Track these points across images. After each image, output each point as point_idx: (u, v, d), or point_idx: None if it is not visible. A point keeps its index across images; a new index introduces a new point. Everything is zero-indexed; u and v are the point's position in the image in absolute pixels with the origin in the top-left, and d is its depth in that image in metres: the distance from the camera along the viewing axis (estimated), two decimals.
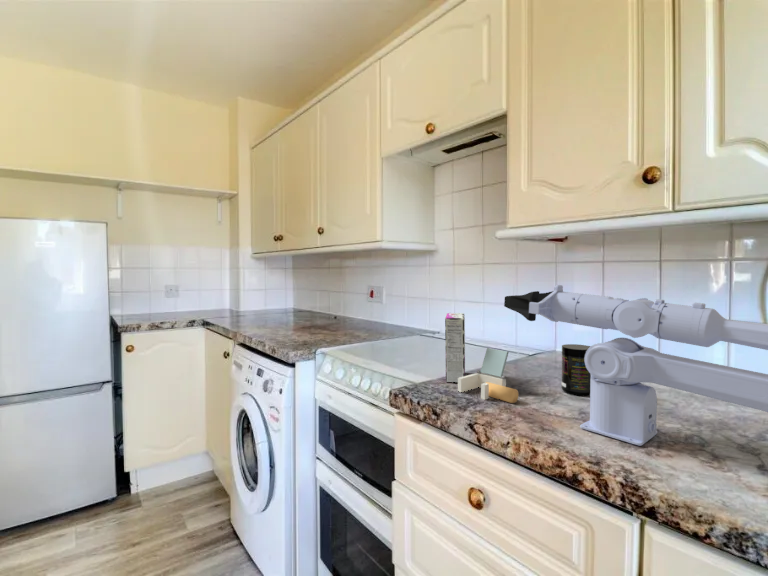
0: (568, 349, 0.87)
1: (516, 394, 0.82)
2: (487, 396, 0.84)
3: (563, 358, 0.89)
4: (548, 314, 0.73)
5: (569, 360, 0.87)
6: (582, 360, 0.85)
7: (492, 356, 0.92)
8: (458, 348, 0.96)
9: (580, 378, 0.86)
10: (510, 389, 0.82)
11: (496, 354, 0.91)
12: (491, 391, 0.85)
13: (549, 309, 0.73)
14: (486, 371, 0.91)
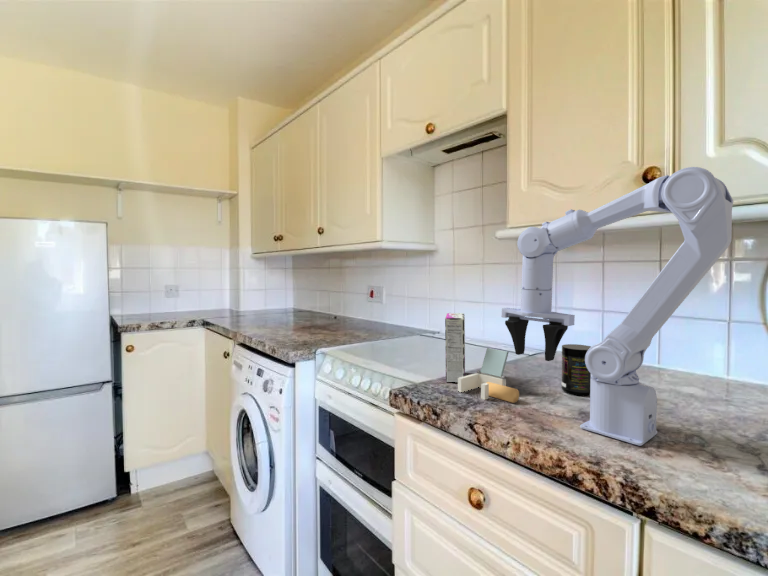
0: (568, 349, 0.87)
1: (517, 394, 0.82)
2: (487, 396, 0.84)
3: (563, 358, 0.89)
4: None
5: (569, 360, 0.87)
6: (582, 360, 0.85)
7: (492, 356, 0.92)
8: (458, 348, 0.96)
9: (580, 378, 0.86)
10: (512, 388, 0.82)
11: (496, 354, 0.91)
12: (492, 389, 0.85)
13: (551, 313, 0.75)
14: (486, 371, 0.91)
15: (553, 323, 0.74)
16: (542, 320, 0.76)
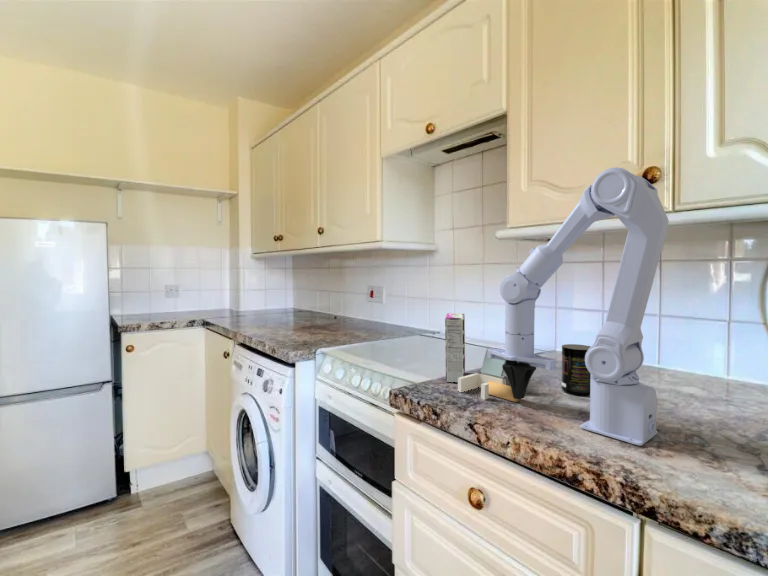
0: (568, 349, 0.87)
1: None
2: (487, 396, 0.84)
3: (563, 358, 0.89)
4: (536, 357, 0.79)
5: (569, 360, 0.87)
6: (582, 360, 0.85)
7: None
8: (458, 348, 0.96)
9: (580, 378, 0.86)
10: None
11: None
12: (495, 385, 0.86)
13: (534, 357, 0.78)
14: (486, 371, 0.91)
15: (522, 364, 0.79)
16: (525, 363, 0.79)
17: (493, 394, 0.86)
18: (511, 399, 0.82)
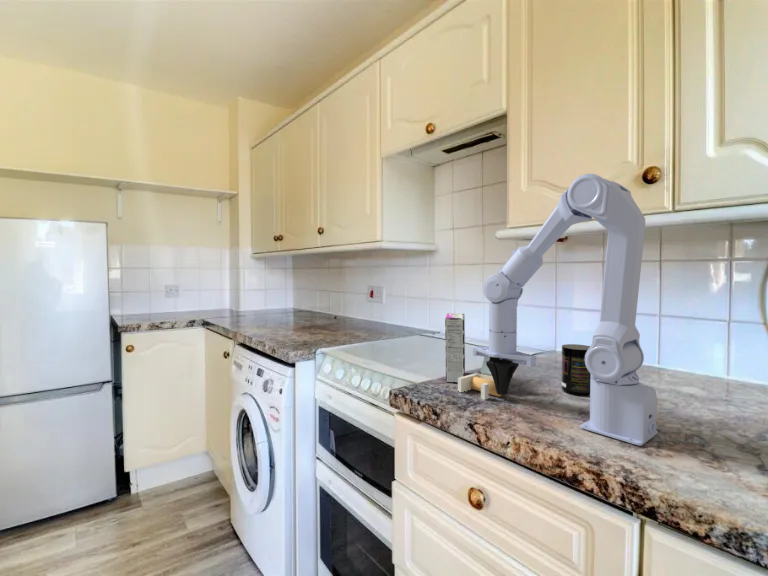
0: (568, 349, 0.87)
1: None
2: (487, 396, 0.84)
3: (563, 358, 0.89)
4: (518, 354, 0.82)
5: (569, 360, 0.87)
6: (582, 360, 0.85)
7: None
8: (458, 348, 0.96)
9: (580, 378, 0.86)
10: None
11: None
12: (480, 380, 0.89)
13: (516, 354, 0.82)
14: (486, 371, 0.91)
15: (505, 361, 0.82)
16: (508, 360, 0.82)
17: (478, 389, 0.89)
18: (494, 394, 0.85)
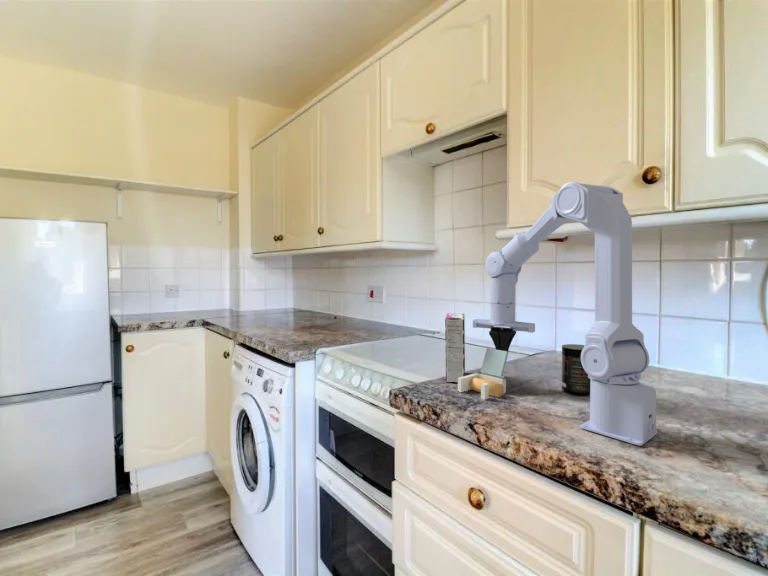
0: (568, 349, 0.87)
1: (501, 391, 0.86)
2: (487, 396, 0.84)
3: (563, 358, 0.89)
4: (516, 323, 0.92)
5: (569, 360, 0.87)
6: None
7: (492, 356, 0.92)
8: (458, 348, 0.96)
9: (580, 378, 0.86)
10: None
11: (496, 354, 0.91)
12: (479, 382, 0.89)
13: (516, 323, 0.91)
14: (486, 371, 0.91)
15: (506, 330, 0.92)
16: (509, 328, 0.92)
17: (478, 391, 0.89)
18: (494, 395, 0.85)
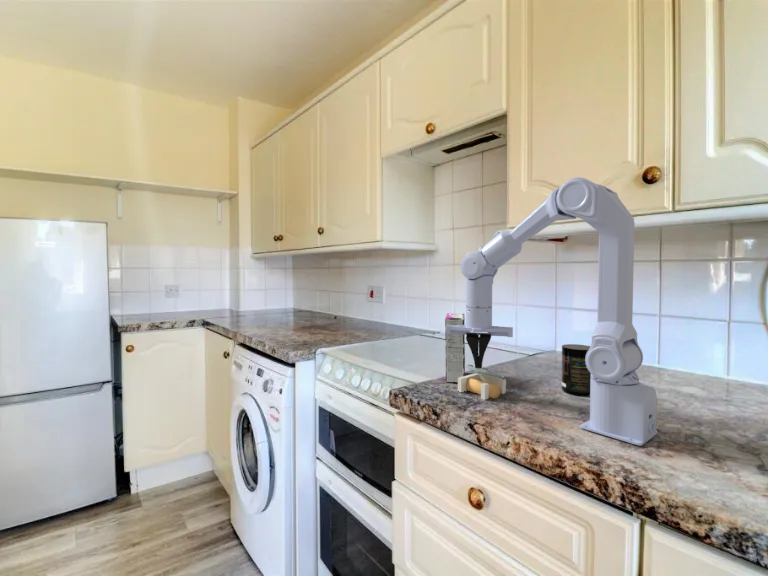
0: (568, 349, 0.87)
1: (498, 389, 0.85)
2: (487, 396, 0.84)
3: (563, 358, 0.89)
4: None
5: (569, 360, 0.87)
6: (582, 360, 0.85)
7: (477, 371, 0.89)
8: (458, 348, 0.96)
9: (580, 378, 0.86)
10: (491, 386, 0.85)
11: (479, 371, 0.87)
12: (474, 389, 0.88)
13: (493, 327, 0.87)
14: (485, 374, 0.91)
15: (484, 335, 0.86)
16: (486, 334, 0.87)
17: None
18: None
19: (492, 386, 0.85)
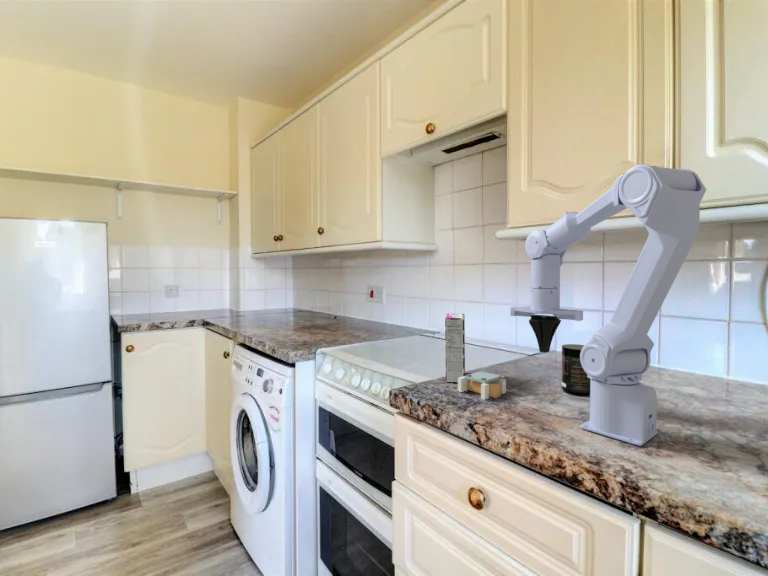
0: (568, 349, 0.87)
1: (499, 390, 0.86)
2: (487, 396, 0.84)
3: (563, 358, 0.89)
4: None
5: (569, 360, 0.87)
6: None
7: None
8: (458, 348, 0.96)
9: (580, 378, 0.86)
10: (494, 384, 0.85)
11: None
12: (476, 386, 0.88)
13: (560, 310, 0.81)
14: None
15: (549, 318, 0.81)
16: (552, 317, 0.82)
17: (477, 392, 0.89)
18: (494, 397, 0.85)
19: (495, 384, 0.85)
